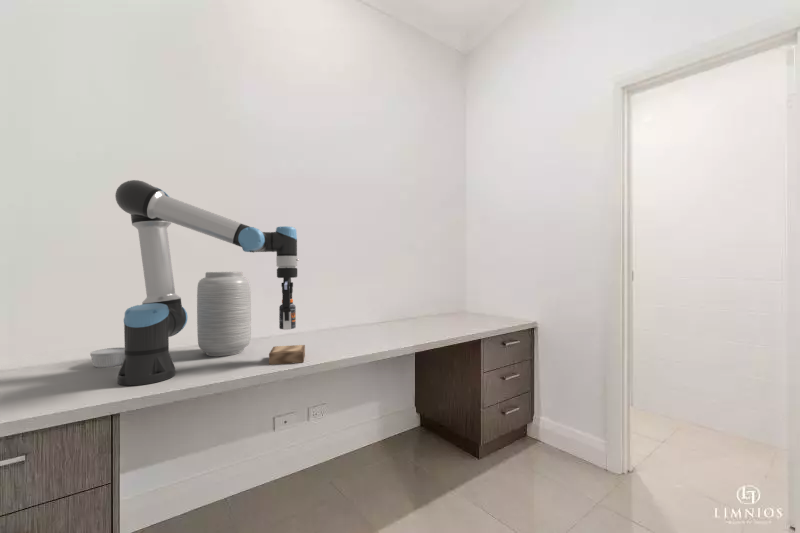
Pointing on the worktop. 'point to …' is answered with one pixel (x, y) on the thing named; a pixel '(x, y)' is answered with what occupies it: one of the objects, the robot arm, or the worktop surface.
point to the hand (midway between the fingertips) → (288, 327)
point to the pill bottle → (293, 315)
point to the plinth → (287, 354)
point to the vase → (223, 313)
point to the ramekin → (108, 357)
